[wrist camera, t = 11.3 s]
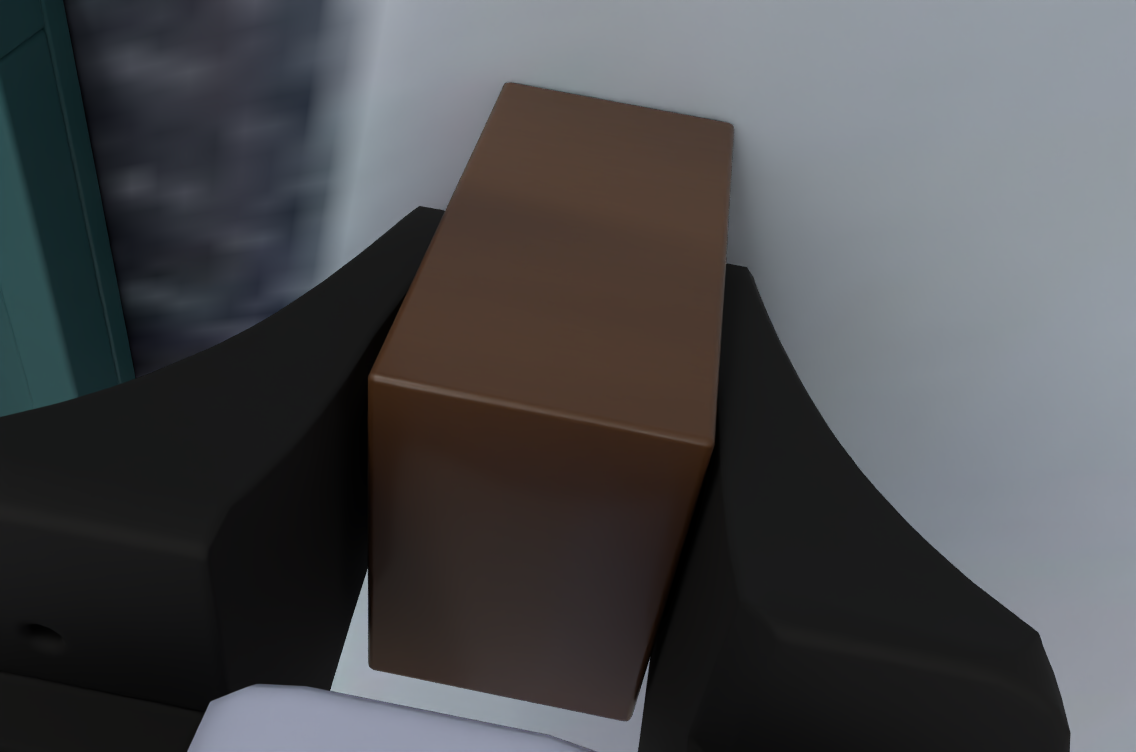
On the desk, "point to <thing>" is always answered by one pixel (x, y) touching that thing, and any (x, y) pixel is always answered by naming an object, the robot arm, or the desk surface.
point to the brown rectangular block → (550, 404)
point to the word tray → (51, 224)
